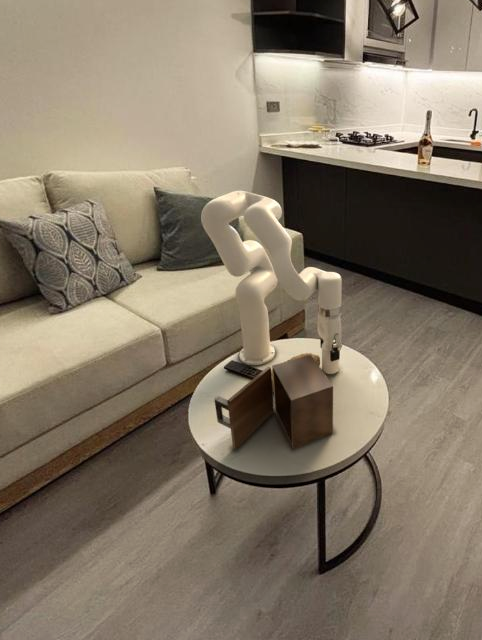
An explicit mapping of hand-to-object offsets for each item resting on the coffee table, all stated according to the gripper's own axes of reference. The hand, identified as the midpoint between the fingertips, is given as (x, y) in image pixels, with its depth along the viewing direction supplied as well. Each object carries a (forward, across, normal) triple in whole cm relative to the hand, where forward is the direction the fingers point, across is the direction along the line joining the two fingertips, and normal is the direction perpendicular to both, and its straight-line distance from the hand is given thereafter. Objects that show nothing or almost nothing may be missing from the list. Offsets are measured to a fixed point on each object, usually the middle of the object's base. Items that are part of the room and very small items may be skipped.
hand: (329, 353), depth 140 cm
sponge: (+7, -1, -12) cm, 15 cm away
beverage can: (+7, 0, 0) cm, 7 cm away
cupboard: (+7, +18, -17) cm, 26 cm away
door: (+7, +11, -32) cm, 35 cm away
